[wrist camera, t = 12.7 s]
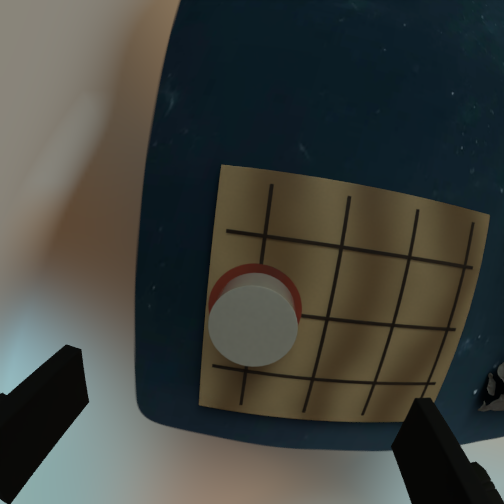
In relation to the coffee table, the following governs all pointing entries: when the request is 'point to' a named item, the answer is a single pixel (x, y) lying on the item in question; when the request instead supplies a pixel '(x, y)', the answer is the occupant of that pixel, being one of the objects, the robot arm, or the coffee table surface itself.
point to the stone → (500, 403)
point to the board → (343, 294)
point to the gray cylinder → (253, 320)
